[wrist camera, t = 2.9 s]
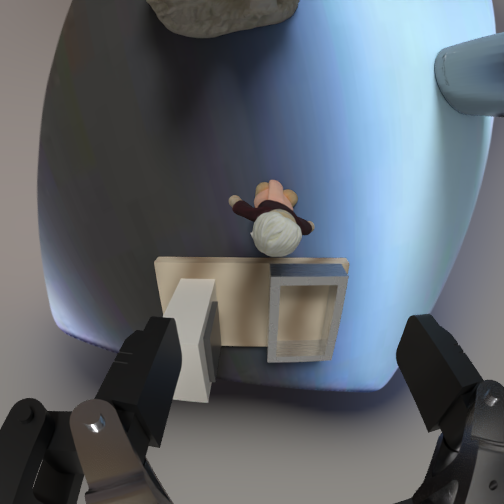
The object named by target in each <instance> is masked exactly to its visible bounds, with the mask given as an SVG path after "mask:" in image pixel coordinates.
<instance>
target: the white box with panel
mask: <svg viewBox="0 0 504 504" xmlns="http://www.w3.org/2000/svg"><path fill="white" fill-rule="evenodd" d="M163 317H166V318H174V319H175V321H176V326H177V331H178V336H179V341H180V346H181V351H182V367H181V371H180V375H179V378H178V382H177V385H176V389H175V393H174V396H173V399H174V400H184V401H194V402H205V403H208V401H209V395H210V388H211V383H212V382H216V376H217V369H218V363H219V356H220V350H221V333H220V322H219V309H218V301H217V295H216V281H215V279H183V278H181V279H180V281H179V283H178V286H177V288H176V290H175V292H174V294H173V296H172V298H171V300H170V302H169V304H168V306H167V309H166V311H165V313H164V315H163Z"/></svg>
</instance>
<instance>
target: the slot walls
mask: <svg viewBox="0 0 504 504" xmlns="http://www.w3.org/2000/svg"><path fill="white" fill-rule="evenodd" d="M347 282H348V275H347V273H346V271H345V269H344V268H343V266H342V264H271V263H270V270H269V302H268V329H267V362H308V361H326V360H331V359H332V355H333V350H334V346H335V342H336V338H337V333H338V328H339V324H340V319H341V314H342V309H343V304H344V299H345V294H346V288H347ZM294 285H330V286H329V293H328V299H327V306H326V312H325V318H324V324H323V329H322V335H321V340H290V341H277V335H278V320H279V303H280V286H294Z"/></svg>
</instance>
